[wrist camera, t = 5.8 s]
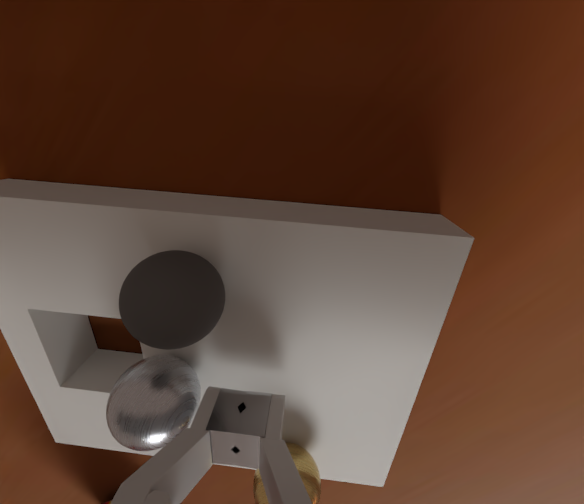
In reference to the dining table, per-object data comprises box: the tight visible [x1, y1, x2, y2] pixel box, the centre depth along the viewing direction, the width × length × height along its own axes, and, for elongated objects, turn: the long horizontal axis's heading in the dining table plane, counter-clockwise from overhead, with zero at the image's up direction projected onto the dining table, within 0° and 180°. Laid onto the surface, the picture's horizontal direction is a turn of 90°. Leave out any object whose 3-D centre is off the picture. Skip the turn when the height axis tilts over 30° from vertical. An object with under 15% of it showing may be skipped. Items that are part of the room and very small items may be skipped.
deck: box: [0, 179, 474, 487], centre depth 13 cm, size 18×14×2 cm
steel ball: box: [106, 355, 201, 451], centre depth 10 cm, size 3×3×3 cm
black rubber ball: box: [119, 250, 225, 350], centre depth 8 cm, size 3×3×3 cm
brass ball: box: [253, 442, 321, 504], centre depth 12 cm, size 3×3×3 cm
